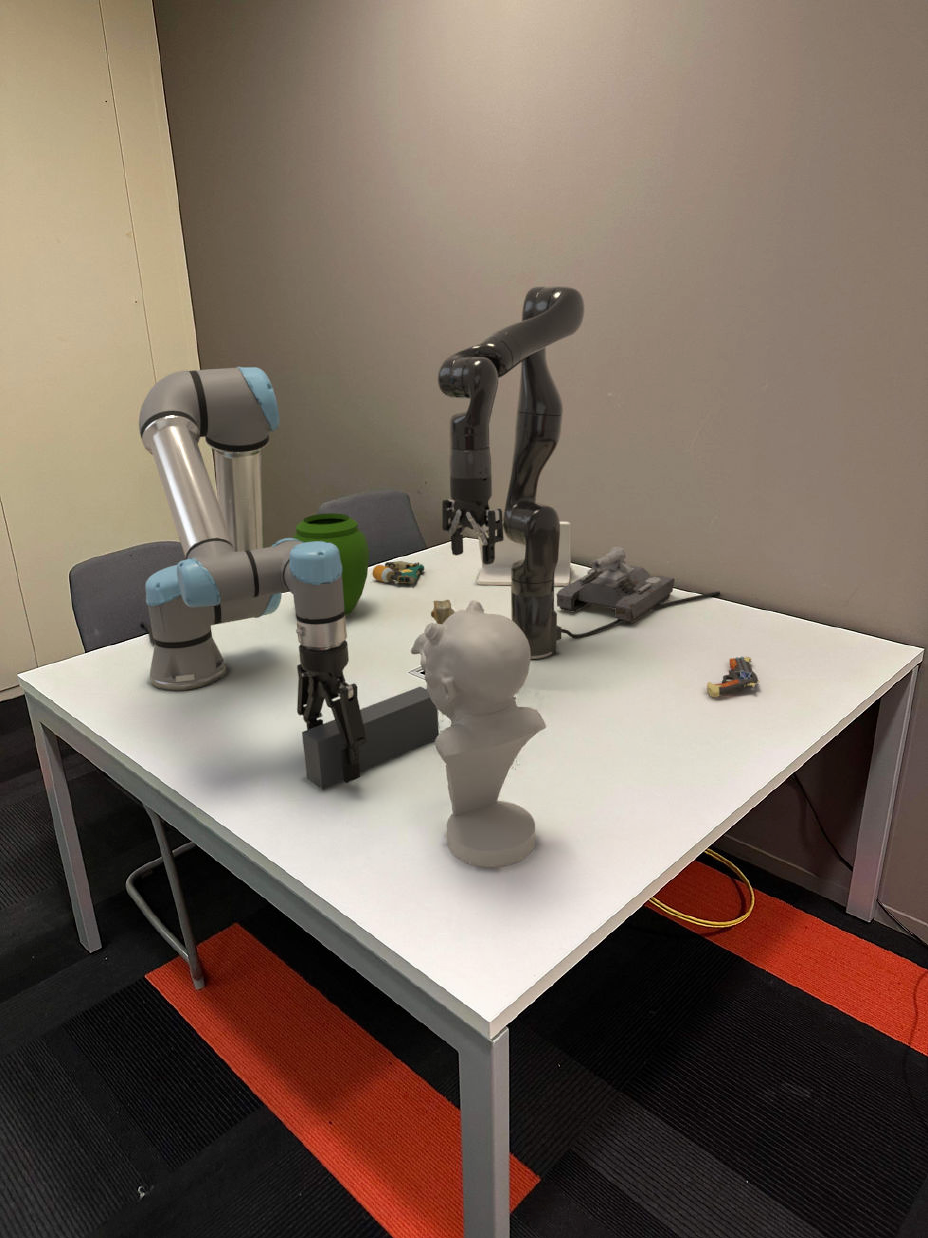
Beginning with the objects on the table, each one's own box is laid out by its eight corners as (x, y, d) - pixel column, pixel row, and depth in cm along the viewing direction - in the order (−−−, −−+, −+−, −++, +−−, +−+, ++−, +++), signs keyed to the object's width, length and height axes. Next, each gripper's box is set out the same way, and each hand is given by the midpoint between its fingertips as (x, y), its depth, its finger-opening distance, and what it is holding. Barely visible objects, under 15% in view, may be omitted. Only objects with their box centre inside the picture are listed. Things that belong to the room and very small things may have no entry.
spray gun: (392, 568, 251) (438, 575, 245) (363, 581, 236) (410, 589, 230) (392, 554, 249) (438, 561, 243) (362, 567, 235) (411, 574, 229)
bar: (422, 729, 156) (420, 686, 152) (439, 738, 152) (437, 694, 149) (306, 778, 141) (301, 732, 138) (322, 789, 137) (317, 742, 134)
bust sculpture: (481, 772, 140) (476, 569, 128) (565, 848, 120) (569, 617, 108) (392, 800, 134) (378, 588, 121) (465, 886, 114) (457, 642, 101)
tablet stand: (569, 585, 229) (570, 524, 223) (476, 584, 232) (475, 523, 226) (570, 566, 246) (571, 508, 240) (484, 564, 249) (483, 507, 243)
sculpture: (458, 662, 183) (456, 596, 178) (460, 676, 176) (457, 608, 171) (431, 663, 183) (428, 597, 177) (431, 677, 176) (428, 609, 171)
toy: (603, 584, 229) (605, 530, 224) (673, 597, 218) (677, 540, 213) (555, 612, 210) (556, 553, 205) (630, 627, 199) (633, 566, 194)
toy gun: (708, 687, 162) (763, 684, 160) (700, 655, 180) (750, 652, 178) (709, 701, 163) (764, 698, 161) (701, 667, 181) (750, 664, 179)
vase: (389, 608, 216) (383, 514, 208) (339, 633, 201) (330, 533, 192) (330, 596, 226) (322, 506, 218) (278, 619, 211) (267, 523, 202)
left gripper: (266, 630, 138) (280, 751, 146) (342, 669, 123) (353, 803, 131) (306, 618, 143) (318, 736, 151) (384, 654, 127) (393, 784, 135)
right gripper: (429, 470, 156) (433, 555, 162) (481, 481, 146) (483, 571, 152) (460, 464, 161) (462, 547, 166) (513, 474, 151) (514, 562, 156)
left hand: (334, 767), depth 141 cm, fingers open, 9 cm apart
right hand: (472, 558), depth 159 cm, fingers open, 8 cm apart
